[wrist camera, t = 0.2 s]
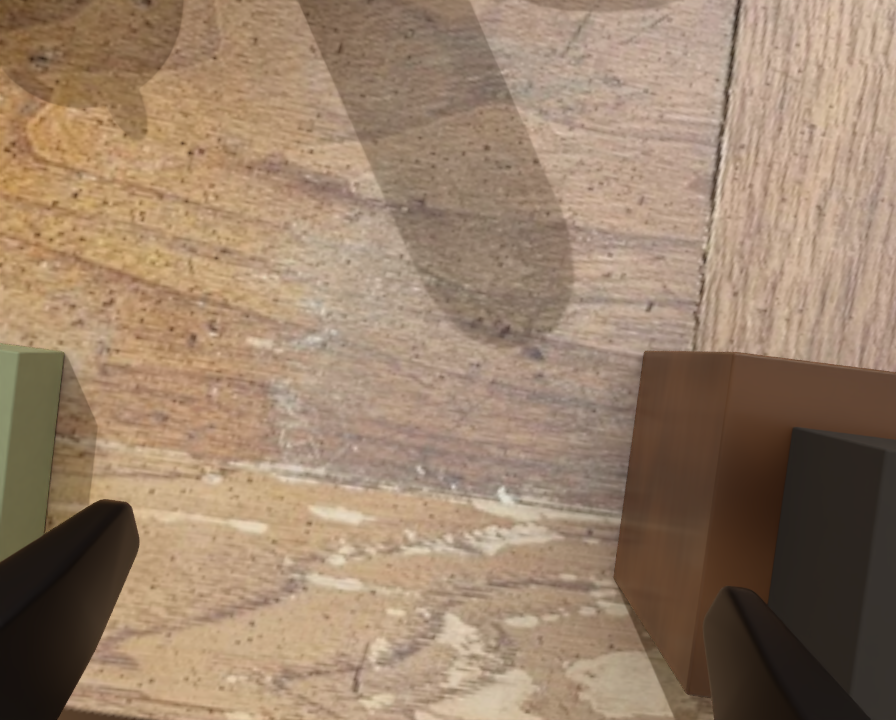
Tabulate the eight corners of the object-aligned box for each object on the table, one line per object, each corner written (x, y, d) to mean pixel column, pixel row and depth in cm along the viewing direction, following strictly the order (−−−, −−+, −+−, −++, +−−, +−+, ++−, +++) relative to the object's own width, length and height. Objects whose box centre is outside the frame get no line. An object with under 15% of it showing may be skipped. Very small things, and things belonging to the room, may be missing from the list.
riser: (845, 610, 23) (1041, 747, 15) (612, 578, 24) (686, 695, 16) (878, 380, 23) (1094, 397, 15) (643, 350, 23) (733, 351, 15)
